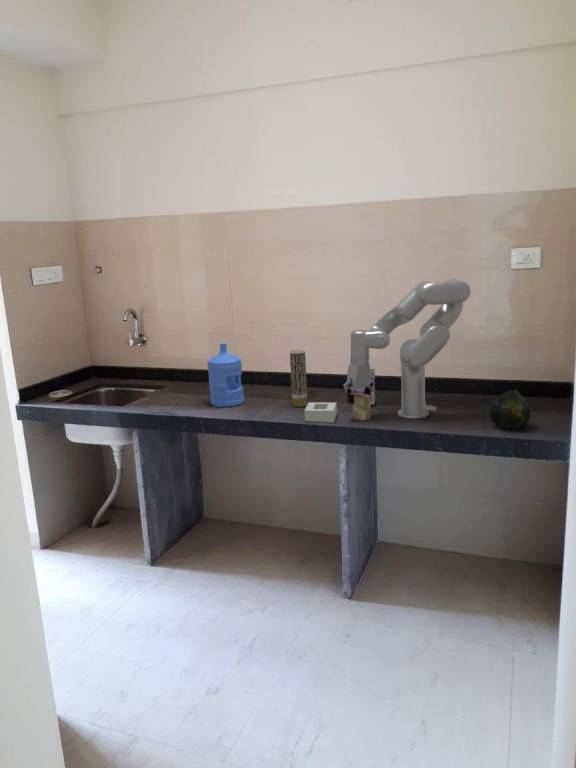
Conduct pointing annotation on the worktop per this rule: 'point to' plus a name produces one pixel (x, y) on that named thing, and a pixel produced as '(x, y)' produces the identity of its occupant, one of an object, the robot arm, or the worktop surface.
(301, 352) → the paper tube
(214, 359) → the water jug
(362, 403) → the maple key peg
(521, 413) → the squash
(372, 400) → the candy bar box
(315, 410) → the sage socket block
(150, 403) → the worktop surface
